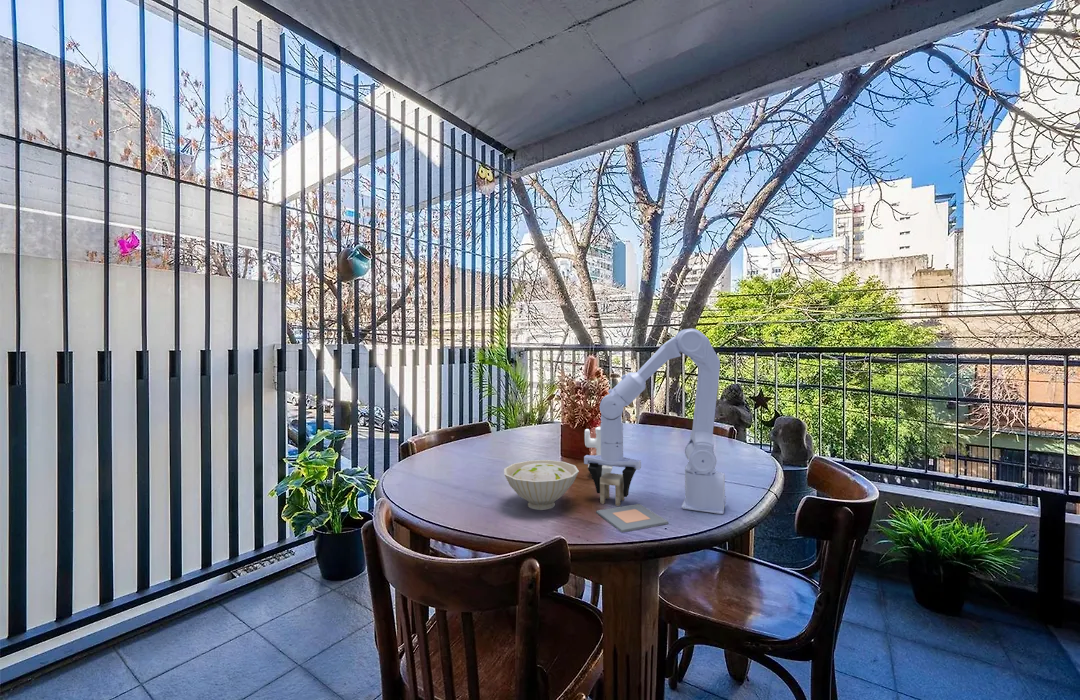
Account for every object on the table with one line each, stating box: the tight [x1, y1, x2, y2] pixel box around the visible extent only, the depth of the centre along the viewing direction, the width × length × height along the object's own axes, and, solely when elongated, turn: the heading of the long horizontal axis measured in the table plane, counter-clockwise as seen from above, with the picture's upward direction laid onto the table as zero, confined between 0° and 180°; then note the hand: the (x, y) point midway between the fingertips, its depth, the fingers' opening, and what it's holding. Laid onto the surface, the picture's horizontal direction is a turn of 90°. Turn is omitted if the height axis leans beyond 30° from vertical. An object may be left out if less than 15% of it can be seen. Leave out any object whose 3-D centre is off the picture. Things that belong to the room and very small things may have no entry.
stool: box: [599, 472, 625, 507], centre depth 118 cm, size 5×5×6 cm
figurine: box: [584, 426, 614, 476], centre depth 139 cm, size 7×9×15 cm
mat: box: [596, 503, 669, 533], centre depth 107 cm, size 12×12×1 cm
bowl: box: [503, 459, 580, 511], centre depth 116 cm, size 19×19×10 cm
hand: (612, 493), depth 118 cm, fingers open, 6 cm apart
